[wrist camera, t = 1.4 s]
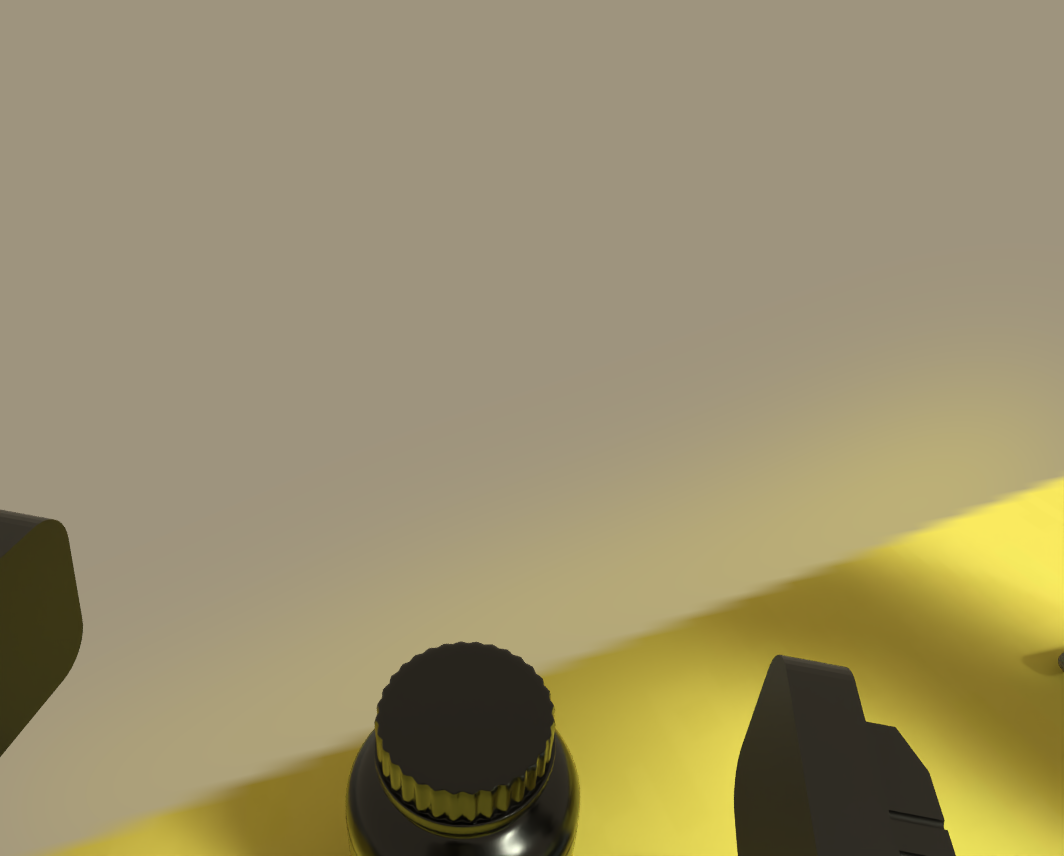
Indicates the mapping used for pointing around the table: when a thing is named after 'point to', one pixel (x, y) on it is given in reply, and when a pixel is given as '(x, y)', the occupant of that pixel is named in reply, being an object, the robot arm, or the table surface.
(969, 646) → the table surface
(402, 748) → the supplement bottle
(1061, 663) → the walkie-talkie
